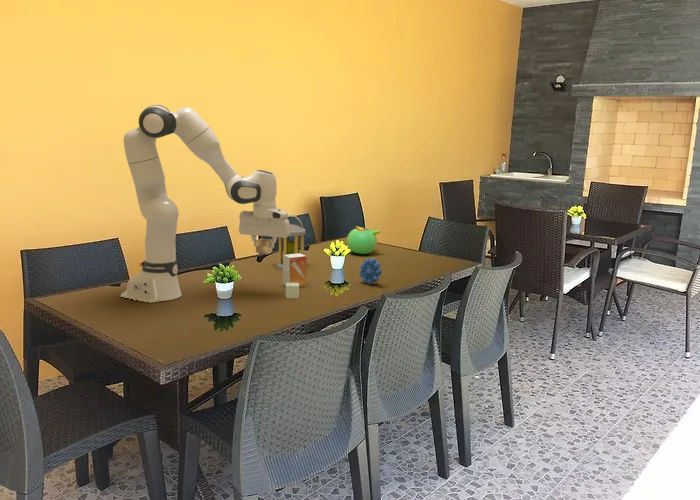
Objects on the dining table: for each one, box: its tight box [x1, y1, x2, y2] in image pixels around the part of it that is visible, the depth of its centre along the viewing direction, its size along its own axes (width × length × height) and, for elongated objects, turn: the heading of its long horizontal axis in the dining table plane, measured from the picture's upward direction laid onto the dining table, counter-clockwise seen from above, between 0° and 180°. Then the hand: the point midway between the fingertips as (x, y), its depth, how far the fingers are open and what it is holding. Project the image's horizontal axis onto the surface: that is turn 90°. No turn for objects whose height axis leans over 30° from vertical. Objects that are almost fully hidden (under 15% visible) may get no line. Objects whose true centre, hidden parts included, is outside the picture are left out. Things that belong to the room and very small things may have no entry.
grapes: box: [359, 257, 382, 286], centre depth 247 cm, size 12×7×12 cm, turn 50°
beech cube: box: [255, 238, 273, 255], centre depth 228 cm, size 5×5×5 cm
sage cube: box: [285, 283, 300, 299], centre depth 227 cm, size 5×5×5 cm
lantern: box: [275, 214, 307, 271], centre depth 273 cm, size 14×14×25 cm
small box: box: [282, 252, 308, 288], centre depth 243 cm, size 8×6×13 cm
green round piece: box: [346, 225, 382, 255], centre depth 309 cm, size 18×17×15 cm
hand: (264, 247), depth 228 cm, fingers closed on beech cube, 5 cm apart
